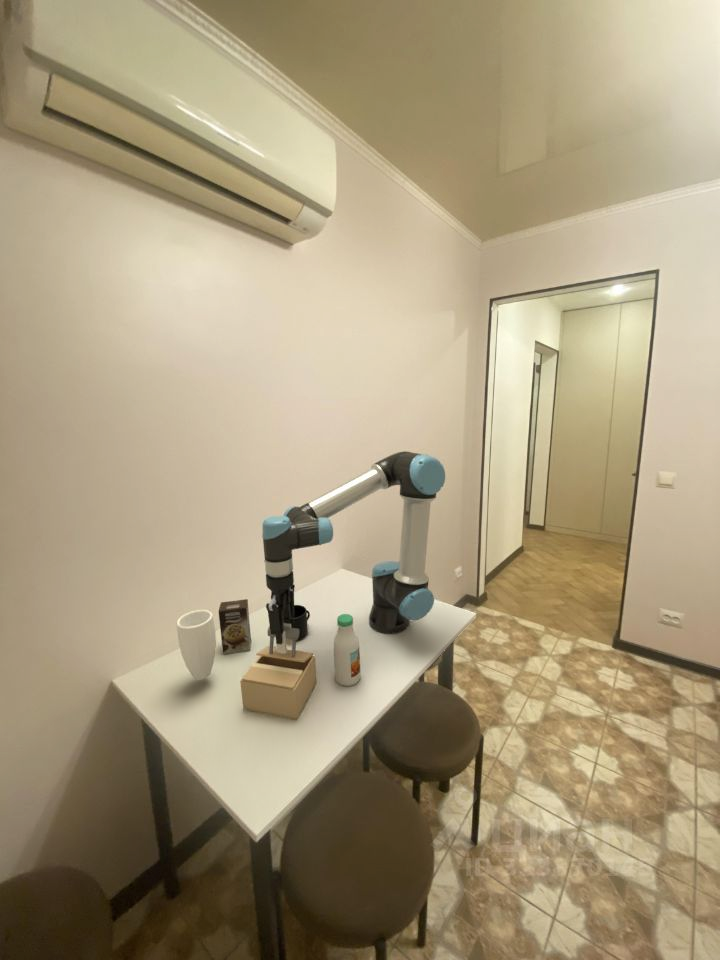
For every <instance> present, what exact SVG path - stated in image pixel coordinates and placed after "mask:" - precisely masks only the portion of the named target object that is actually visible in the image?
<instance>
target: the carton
mask: <svg viewBox="0 0 720 960" xmlns="http://www.w3.org/2000/svg"><path fill="white" fill-rule="evenodd" d="M317 680H318V679H317V667H316V656H315V655H312V656H311V657H310V658H309V659H308V660H307V661H305V662H298V661H291V660H285V659H278V658H272V657H265V656H259V657H257V659H256V660H255V661H254V662H253V664H251V666H250V668H249V669H248V670H247V671H246V672H245V674H244V675H243V676H242V678H241V679H240V681H239V682H240V691H241V699H242V702H241V703H242V709H243V710H244V711H250V712H255V713H259V714H260V713H261V714H265V715H269V716H274V717H275V716H276V717H278V718H279V717H280V718H285V719H290V720H295V721H298V719H299V717H300V716H301V714H302V712H303V709H304V708H305V706H306V704H307V702H308V700H309V699H310V697H311V694H312V693H313V691H314V689H315V687H316V685H317Z"/></svg>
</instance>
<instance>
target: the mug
mask: <svg viewBox="0 0 720 960" xmlns="http://www.w3.org/2000/svg"><path fill="white" fill-rule="evenodd" d="M294 613H295V615H294V618H292V619H293V620H295V621H294V623H291V628H296V629H299V631H300V633H299V638H298V639H297V640H296V642H298V641H301V640H304V639H305V638H307V636H308V634H309V627H308V626H309V625H308V621H309V619H310V617H311V616H310V615H311V614H310V611H309V610H307V608H306V607H305V606H304V605H302V604H294Z"/></svg>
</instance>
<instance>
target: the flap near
mask: <svg viewBox="0 0 720 960" xmlns="http://www.w3.org/2000/svg"><path fill="white" fill-rule="evenodd" d="M284 631H285V635H286V639H292V645H291V649H289V648H286V649H287V652H286V654H284V653H278V652H277V648H276V647H275V646H274V644H275V641H274V640H275V638H276V635H272V634H271V633H270V625H269V626H268V628H267V636H268V637H269V646H265V647H264V648H263V649H261V650H260V651H257V652H256V656H259V657H260V656H265V657H272V658H278V659H285V660H291V661H298V662H305V661H307V660H308V659H309V658H310V657H311V656H314V653H313V652H308V651H301V650H297V649H296V647H297V641H296V640H297V639H298V638H299V633H300V631H299V629H296V628H288V627H284Z"/></svg>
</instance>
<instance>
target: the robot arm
mask: <svg viewBox="0 0 720 960" xmlns="http://www.w3.org/2000/svg"><path fill="white" fill-rule="evenodd" d="M445 482H446V471H445V468H444V466H443V464H442V463H441V461H440V460H439V459H438V458H436V457H434V456H432V455H428V454H424V453H417V452H411V451H406V450H405V451H399V452H396V453H392V454H391V455H388V456H386V457H384V458H382V459H381V460H379V461H377V462H375V463H373V464H372V465H371V467H370V469H368V470H366V471H365V472H361V474H359V475H357V476H355V477H353V478H351V479H349V480H348V481H345V482H344V483H342V484H340V485H338V486H337V487H335V488H332V489H331V490H329V491H327V492H325V493H323V494H321V495H320V496H318V497H316V498H313V499H312V500H311V501H308V502H306V503H304V504H303V505H301V506H295V505H294V506H290V507H288V508H287V509H285V511H284V513H283V515H276V516H275V515H272V516H269V517H267V518H265V519H264V520H263V521H262V536H261V537H262V543H263V544H262V545H263V553H264V560H263V561H264V566H265V569H264V570H265V583H266V587H267V589H269V590H270V591H271V595H270V600H271V601H270V602H269V603H268V602H267V603H266V604H265V608H266V610H267V616H268V624H269V626H270V633H271V634H272V635H276V637H275V645H276V647H275V648H277V652H278V653H284V654H286V652H287V649H288V648H287V646H292V639H286V635H285V631H284V627H288V628H291V623H294V621H295V620H293V619H292V618H294V615H295V613H294V605H295V586H296V585H295V584H294V583H295V582H294V581H295V579H294V578H295V577H294V571H293V570H294V564H293V562H294V561H293V550H298V549H304V548H309V547H315V546H321V545H325V544H328V543H332V541H333V538H334V527H333V524H332V521H331V519H330V518H331V517H333V516H334V515H336V514H338V513H340V512H342V511H343V510H345V509H347V508H348V507H350V506H352V505H354V504H356V503H357V502H360V501H362V500H363V499H365V498H366V497H368V496H370V495H372V494H373V493H376V492H377V491H379V490H381V489H382V490H387V489H389V488H392V487H393V486H399V496H400V497H401V498H402V500H403V508H402V522H401V536H400V549H399V561H394V560H393V561H392V560H391V561H390V560H389V561H383V562H379V563H377V564H375V565H374V566H373V567H372V570H371V571H372V572H371V578H372V579H371V580H372V581H371V582H372V601H373V602H372V605H371V606H372V607H371V608H370V612H369V615H368V624H369V627H370V628H372V629H373V630H374V631H376V632H379V633H383V634H397V633H401V632H403V631H405V630H406V629H407V628H408V627H409V626H410V621H419V620H422V619H423V618H425V617H426V616H427V615H428V614H429V613H430V612H431V610H433V609H432V608H433V605H434V603H435V596H434V594H433V591H431V590H430V589H429V581H430V577H429V576H428V575H427V573H425V572H426V571H425V570H426V562H427V549H428V539H429V537H428V535H429V525H430V515H431V513H430V512H431V503H432V502H433V501H435V499H436V498H437V493H439V492H440V491H441V490H442V489H441V488H443V487H444V484H445Z"/></svg>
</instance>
